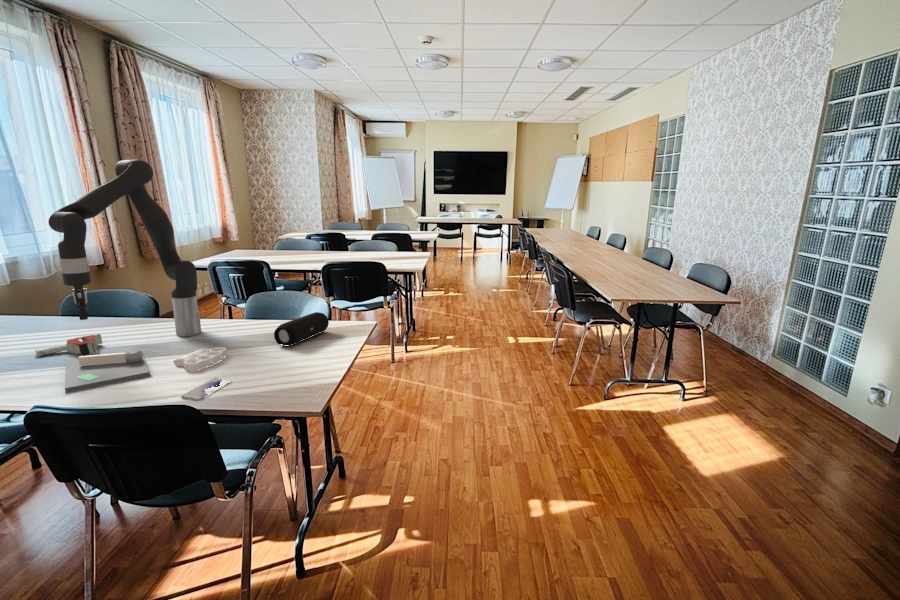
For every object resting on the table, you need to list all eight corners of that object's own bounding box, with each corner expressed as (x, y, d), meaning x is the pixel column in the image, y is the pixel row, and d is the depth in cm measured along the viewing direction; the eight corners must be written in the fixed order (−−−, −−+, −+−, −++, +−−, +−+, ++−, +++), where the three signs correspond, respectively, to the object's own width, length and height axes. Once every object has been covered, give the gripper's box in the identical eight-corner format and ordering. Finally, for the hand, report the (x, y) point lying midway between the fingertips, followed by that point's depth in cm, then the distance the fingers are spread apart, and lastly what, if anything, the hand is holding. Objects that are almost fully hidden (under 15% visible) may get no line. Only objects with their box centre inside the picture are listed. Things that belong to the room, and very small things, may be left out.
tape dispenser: (32, 361, 164) (75, 362, 160) (28, 348, 163) (71, 349, 159) (78, 343, 181) (118, 345, 177) (75, 331, 179) (115, 332, 176)
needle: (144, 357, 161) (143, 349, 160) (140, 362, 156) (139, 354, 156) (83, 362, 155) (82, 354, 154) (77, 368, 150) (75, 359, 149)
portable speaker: (291, 350, 178) (290, 326, 176) (273, 346, 182) (271, 323, 179) (330, 333, 201) (329, 312, 199) (313, 330, 205) (312, 309, 202)
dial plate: (141, 352, 170) (140, 348, 170) (150, 375, 150) (149, 371, 149) (66, 365, 157) (66, 361, 156) (65, 392, 136) (64, 388, 135)
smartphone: (232, 380, 147) (199, 399, 133) (232, 382, 147) (199, 402, 133) (214, 377, 148) (179, 396, 134) (214, 380, 149) (179, 399, 134)
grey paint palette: (204, 352, 173) (236, 356, 170) (166, 369, 156) (202, 374, 153) (203, 344, 173) (236, 348, 170) (165, 361, 155) (200, 365, 153)
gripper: (90, 272, 148) (98, 320, 152) (89, 267, 159) (96, 311, 162) (60, 274, 143) (69, 324, 147) (61, 268, 154) (70, 314, 158)
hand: (83, 317), depth 155 cm, fingers open, 5 cm apart
